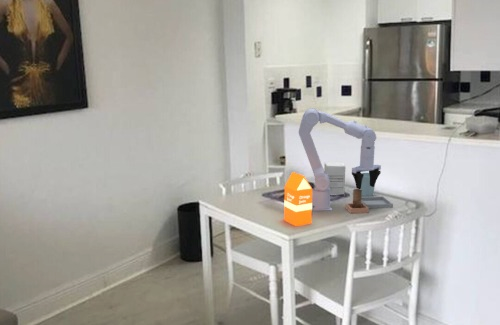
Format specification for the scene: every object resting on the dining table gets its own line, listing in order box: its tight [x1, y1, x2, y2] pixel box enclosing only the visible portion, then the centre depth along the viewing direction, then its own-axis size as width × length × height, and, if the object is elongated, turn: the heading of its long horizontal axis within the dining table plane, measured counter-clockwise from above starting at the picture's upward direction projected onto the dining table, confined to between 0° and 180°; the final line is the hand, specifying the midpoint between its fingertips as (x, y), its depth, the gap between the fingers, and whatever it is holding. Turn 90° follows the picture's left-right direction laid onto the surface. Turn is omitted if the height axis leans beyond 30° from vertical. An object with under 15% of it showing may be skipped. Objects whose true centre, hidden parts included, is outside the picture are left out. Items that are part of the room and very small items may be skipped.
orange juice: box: [283, 171, 313, 227], centre depth 210 cm, size 8×9×20 cm
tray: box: [361, 196, 394, 209], centre depth 234 cm, size 12×12×2 cm
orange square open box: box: [344, 202, 370, 214], centre depth 225 cm, size 8×8×3 cm
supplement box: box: [323, 161, 346, 195], centre depth 251 cm, size 9×9×15 cm
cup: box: [360, 172, 376, 197], centre depth 248 cm, size 8×8×10 cm
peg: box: [352, 188, 363, 208], centre depth 224 cm, size 4×4×9 cm
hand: (365, 187), depth 225 cm, fingers open, 7 cm apart
